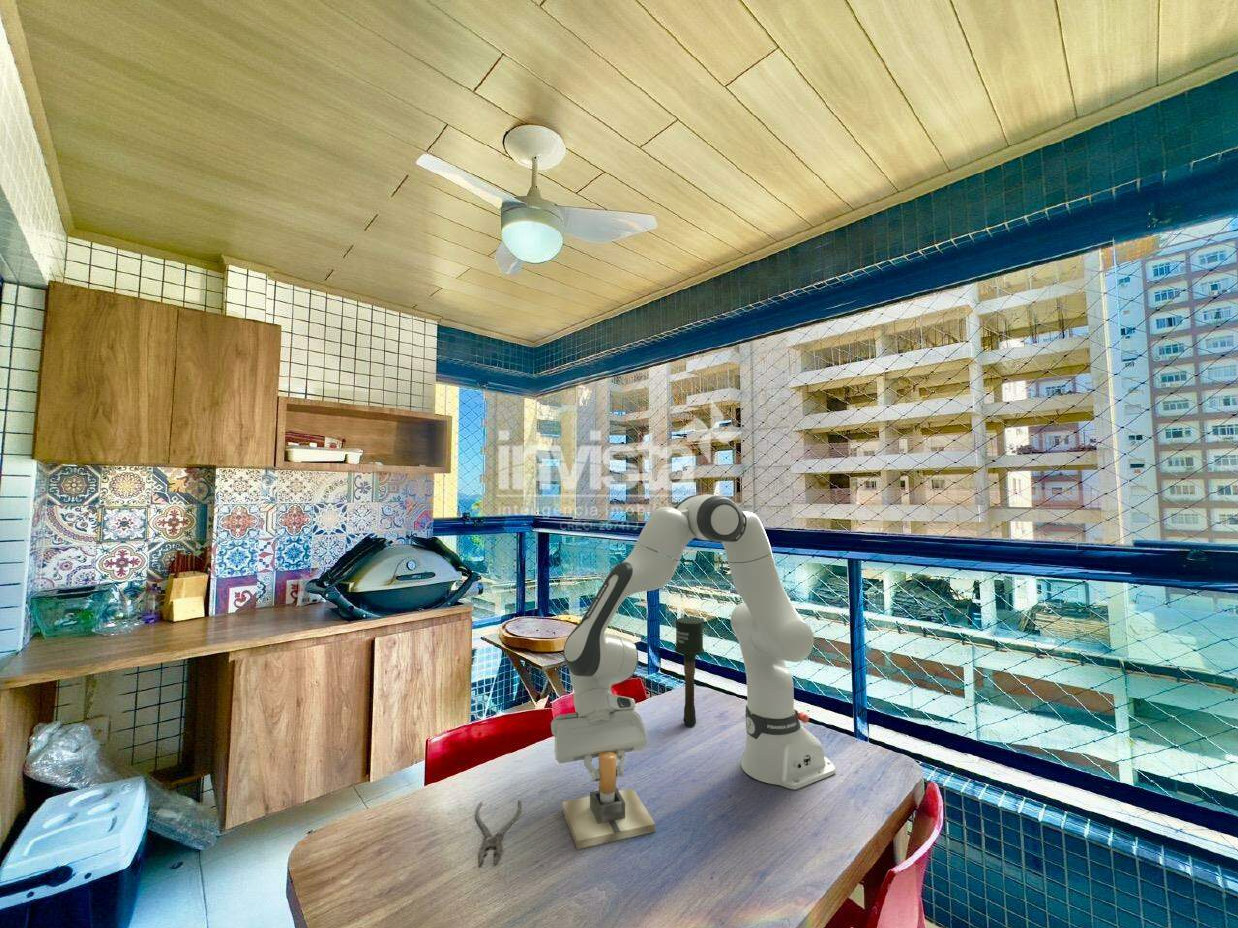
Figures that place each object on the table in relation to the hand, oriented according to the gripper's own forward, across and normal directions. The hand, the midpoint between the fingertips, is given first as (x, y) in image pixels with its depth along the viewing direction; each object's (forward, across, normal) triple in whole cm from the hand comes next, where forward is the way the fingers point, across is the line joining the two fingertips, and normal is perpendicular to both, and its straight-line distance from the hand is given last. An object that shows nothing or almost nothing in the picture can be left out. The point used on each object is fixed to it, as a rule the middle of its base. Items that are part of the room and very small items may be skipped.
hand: (608, 778), depth 104 cm
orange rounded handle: (+4, 0, +5) cm, 6 cm away
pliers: (+3, -21, +10) cm, 23 cm away
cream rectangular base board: (+6, 0, +6) cm, 9 cm away
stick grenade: (-18, +36, +31) cm, 51 cm away
